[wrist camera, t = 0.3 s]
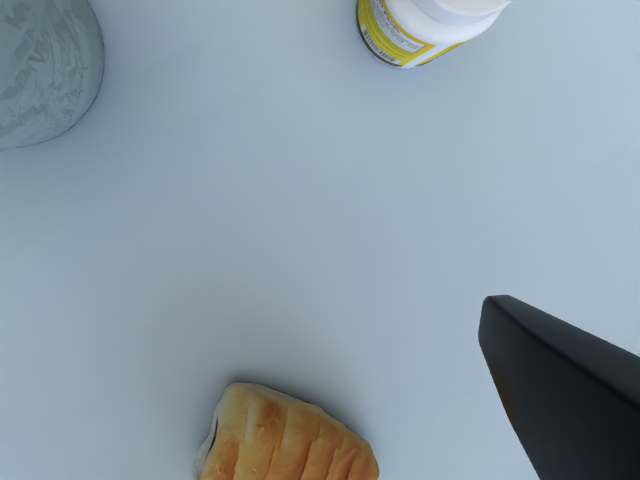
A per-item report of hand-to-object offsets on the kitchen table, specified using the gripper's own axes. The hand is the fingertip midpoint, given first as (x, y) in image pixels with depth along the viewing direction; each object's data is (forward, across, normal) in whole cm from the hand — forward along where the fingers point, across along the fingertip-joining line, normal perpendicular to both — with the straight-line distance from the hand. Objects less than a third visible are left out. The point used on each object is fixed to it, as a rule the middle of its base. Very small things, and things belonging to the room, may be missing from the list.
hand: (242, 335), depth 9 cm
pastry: (+12, 0, +16) cm, 20 cm away
